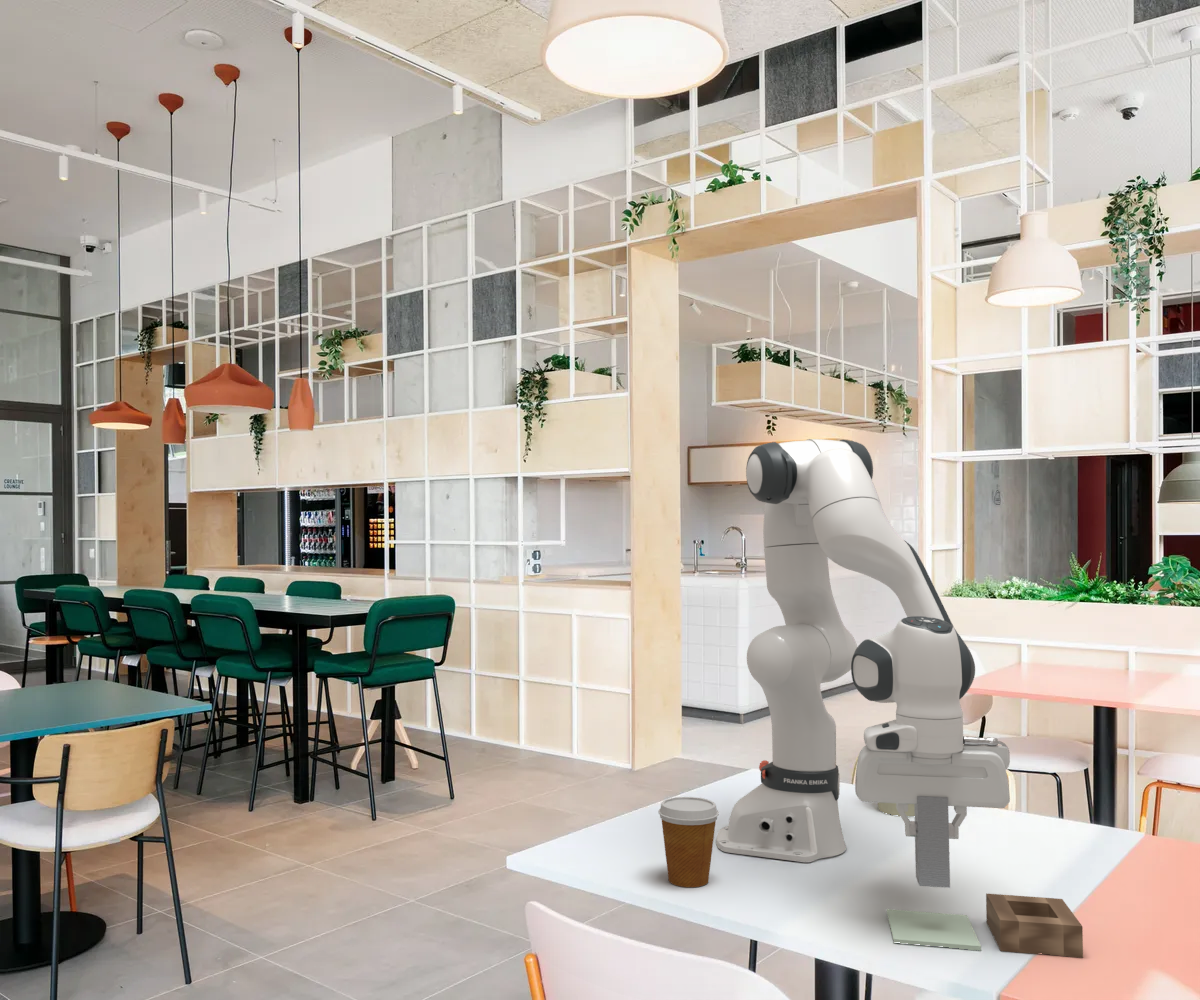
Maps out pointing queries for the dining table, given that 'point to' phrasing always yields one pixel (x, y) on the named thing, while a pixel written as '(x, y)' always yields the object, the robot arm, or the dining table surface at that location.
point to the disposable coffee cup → (688, 839)
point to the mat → (933, 929)
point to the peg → (932, 841)
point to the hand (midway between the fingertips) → (931, 836)
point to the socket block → (1034, 925)
